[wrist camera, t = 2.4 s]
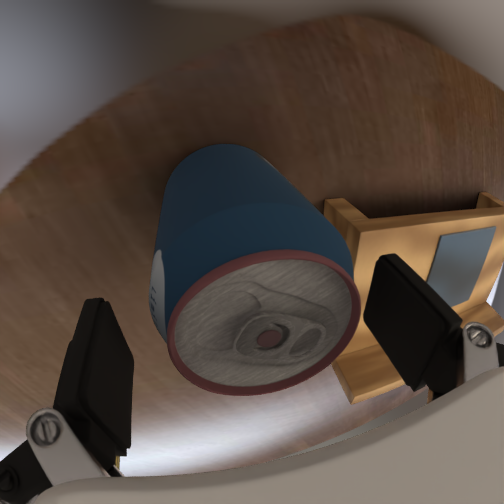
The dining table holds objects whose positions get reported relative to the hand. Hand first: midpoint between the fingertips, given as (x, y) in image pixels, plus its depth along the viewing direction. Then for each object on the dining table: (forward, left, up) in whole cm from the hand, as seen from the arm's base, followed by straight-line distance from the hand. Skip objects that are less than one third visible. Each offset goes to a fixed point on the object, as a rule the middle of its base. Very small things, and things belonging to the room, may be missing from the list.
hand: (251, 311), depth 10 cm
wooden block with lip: (+7, +17, -10) cm, 21 cm away
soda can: (0, 0, -10) cm, 10 cm away
